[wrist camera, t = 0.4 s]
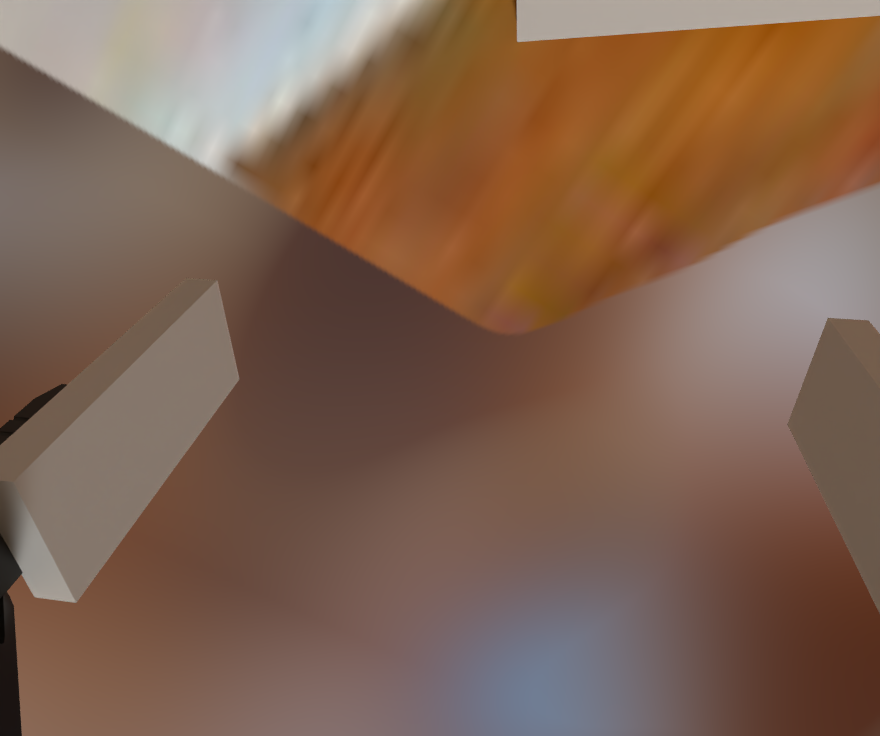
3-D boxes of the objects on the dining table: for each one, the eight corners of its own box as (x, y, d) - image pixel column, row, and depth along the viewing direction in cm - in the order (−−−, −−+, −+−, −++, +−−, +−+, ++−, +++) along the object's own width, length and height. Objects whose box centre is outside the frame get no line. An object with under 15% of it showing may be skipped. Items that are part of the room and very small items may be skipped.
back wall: (519, -7, 34) (516, -4, 31) (894, -39, 30) (924, -39, 28) (519, 35, 35) (517, 41, 32) (881, 8, 32) (909, 13, 29)
